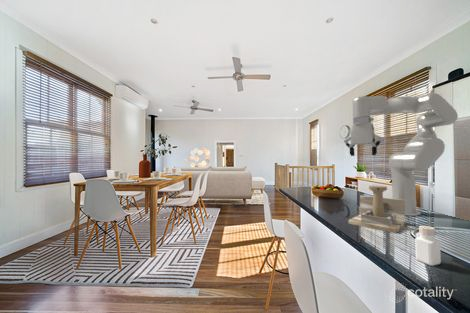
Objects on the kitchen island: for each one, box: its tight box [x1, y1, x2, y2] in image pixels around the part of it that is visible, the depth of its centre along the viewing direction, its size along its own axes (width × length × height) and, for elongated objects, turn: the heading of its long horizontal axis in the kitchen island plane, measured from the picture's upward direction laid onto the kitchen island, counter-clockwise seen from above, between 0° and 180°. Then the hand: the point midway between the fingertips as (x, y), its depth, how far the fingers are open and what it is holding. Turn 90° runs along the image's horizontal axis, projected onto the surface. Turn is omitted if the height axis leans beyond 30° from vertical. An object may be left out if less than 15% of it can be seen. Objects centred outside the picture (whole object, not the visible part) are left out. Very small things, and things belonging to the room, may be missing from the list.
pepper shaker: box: [414, 225, 442, 267], centre depth 57 cm, size 4×4×10 cm
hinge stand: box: [347, 195, 406, 234], centre depth 91 cm, size 16×17×10 cm
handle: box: [368, 185, 388, 218], centre depth 90 cm, size 5×6×15 cm
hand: (362, 155), depth 105 cm, fingers open, 9 cm apart
